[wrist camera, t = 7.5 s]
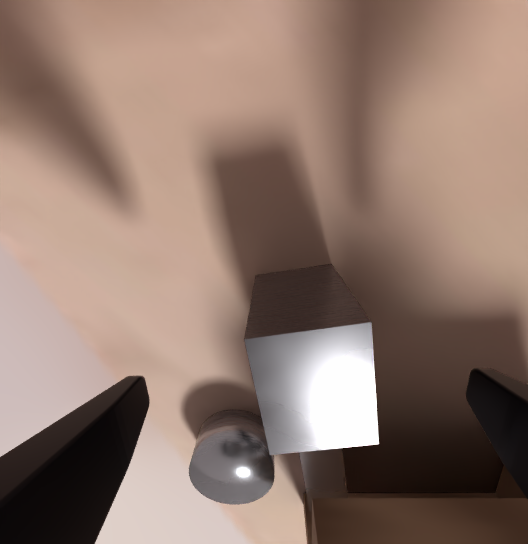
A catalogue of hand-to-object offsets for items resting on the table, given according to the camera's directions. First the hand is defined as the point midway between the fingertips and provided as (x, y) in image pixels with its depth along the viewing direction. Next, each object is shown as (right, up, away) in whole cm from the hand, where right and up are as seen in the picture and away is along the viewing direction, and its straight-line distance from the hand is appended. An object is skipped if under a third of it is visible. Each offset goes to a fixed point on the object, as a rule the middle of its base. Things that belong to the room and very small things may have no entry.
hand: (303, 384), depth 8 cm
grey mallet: (+1, -3, +6) cm, 7 cm away
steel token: (-3, -6, +7) cm, 10 cm away
